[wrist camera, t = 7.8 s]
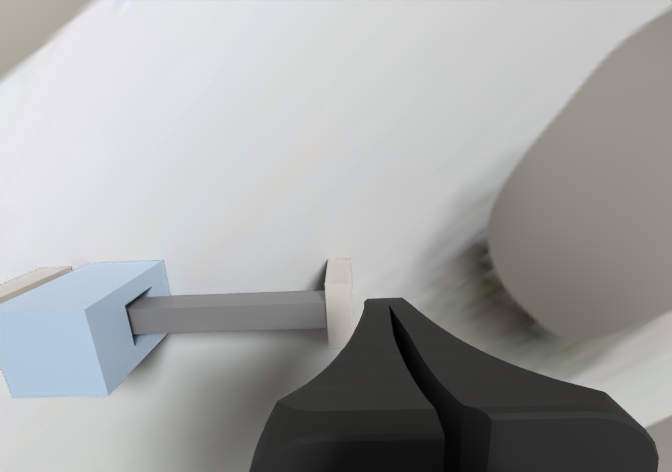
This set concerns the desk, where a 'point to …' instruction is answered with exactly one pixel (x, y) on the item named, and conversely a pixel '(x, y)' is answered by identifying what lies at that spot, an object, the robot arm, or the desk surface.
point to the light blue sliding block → (78, 330)
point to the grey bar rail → (231, 307)
